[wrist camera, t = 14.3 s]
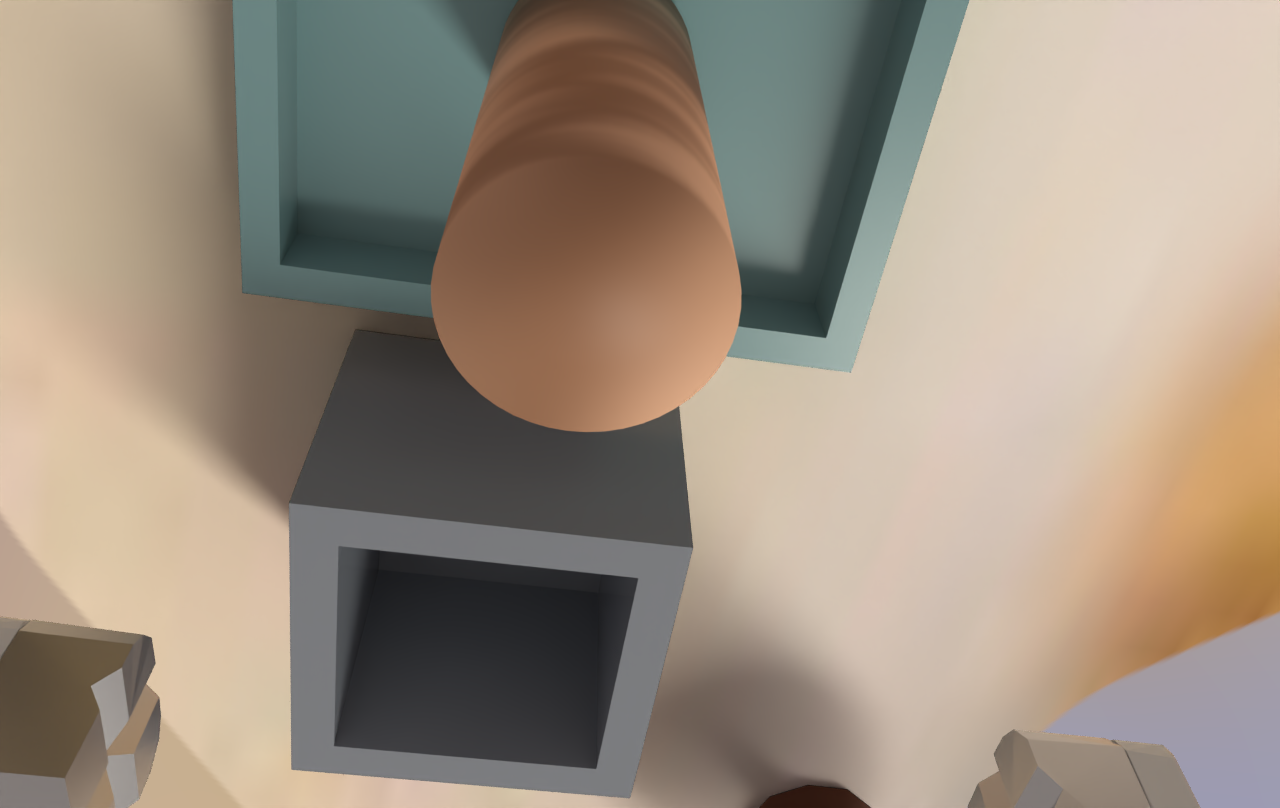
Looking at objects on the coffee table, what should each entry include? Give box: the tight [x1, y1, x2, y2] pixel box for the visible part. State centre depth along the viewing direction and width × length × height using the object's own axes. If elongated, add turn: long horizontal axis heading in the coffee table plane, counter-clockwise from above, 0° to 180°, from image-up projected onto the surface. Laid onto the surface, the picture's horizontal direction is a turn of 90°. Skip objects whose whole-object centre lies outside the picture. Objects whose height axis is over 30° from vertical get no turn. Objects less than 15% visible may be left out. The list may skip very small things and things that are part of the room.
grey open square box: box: [289, 330, 693, 798], centre depth 34 cm, size 10×10×8 cm
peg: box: [431, 0, 741, 432], centre depth 23 cm, size 5×5×13 cm
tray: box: [232, 0, 969, 373], centre depth 28 cm, size 17×14×3 cm
